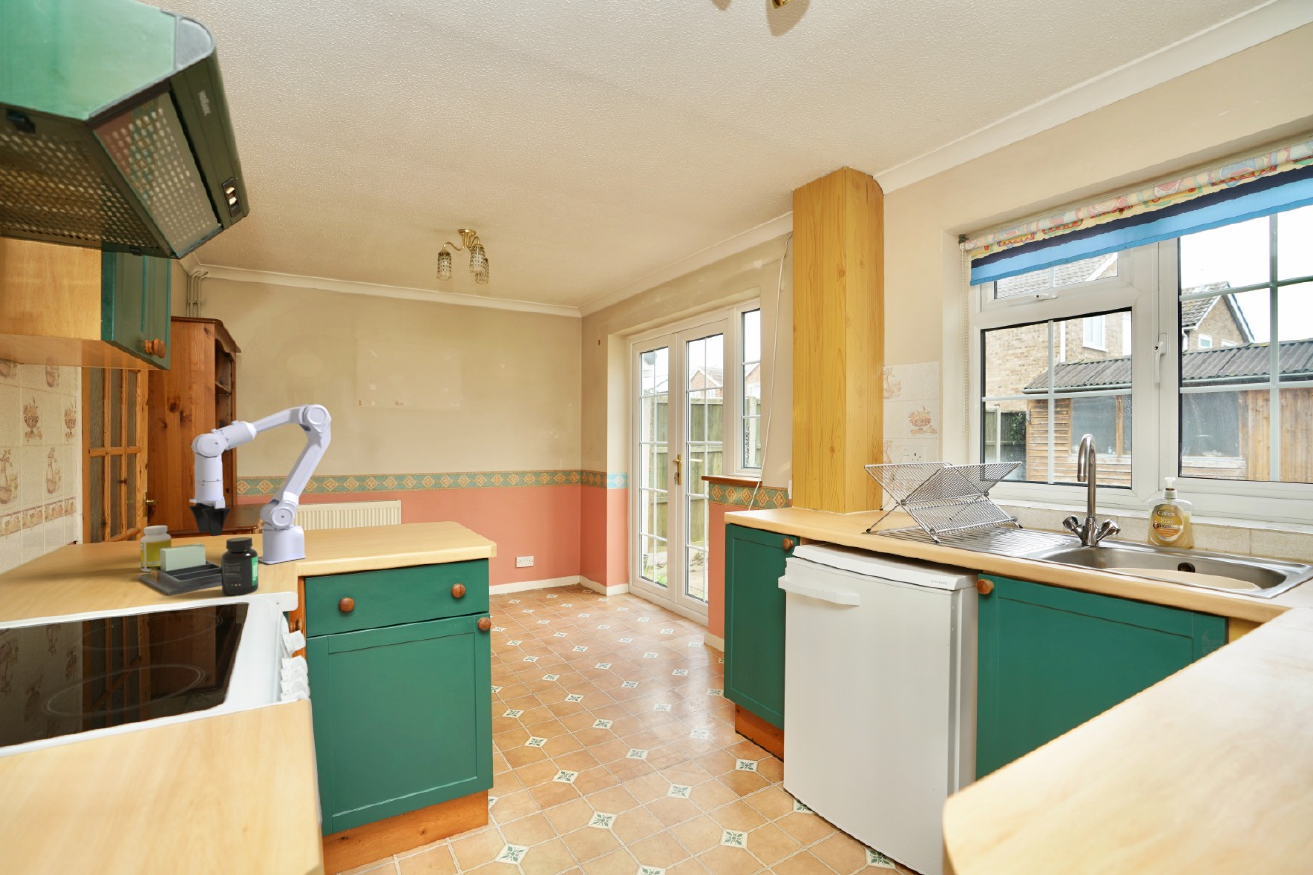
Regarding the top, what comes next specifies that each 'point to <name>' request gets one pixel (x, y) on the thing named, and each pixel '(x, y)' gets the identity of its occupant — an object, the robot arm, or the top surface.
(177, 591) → the rack
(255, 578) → the supplement bottle
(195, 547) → the panel block
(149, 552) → the pill bottle
